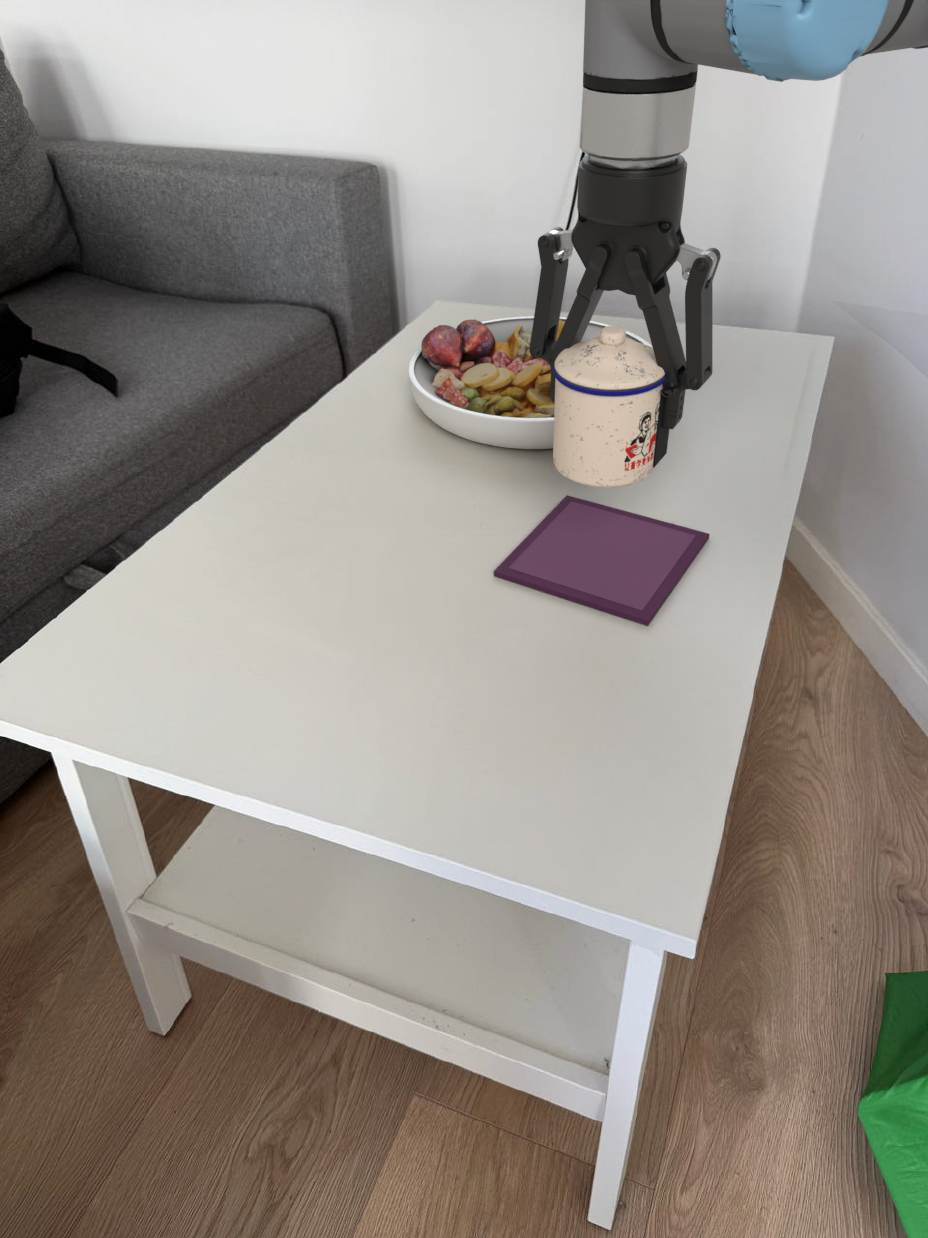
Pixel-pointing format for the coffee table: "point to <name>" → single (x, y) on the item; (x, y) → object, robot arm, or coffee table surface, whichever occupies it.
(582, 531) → the place mat
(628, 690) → the coffee table surface
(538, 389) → the bowl
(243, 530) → the coffee table surface
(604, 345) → the teacup with lid
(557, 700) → the coffee table surface
